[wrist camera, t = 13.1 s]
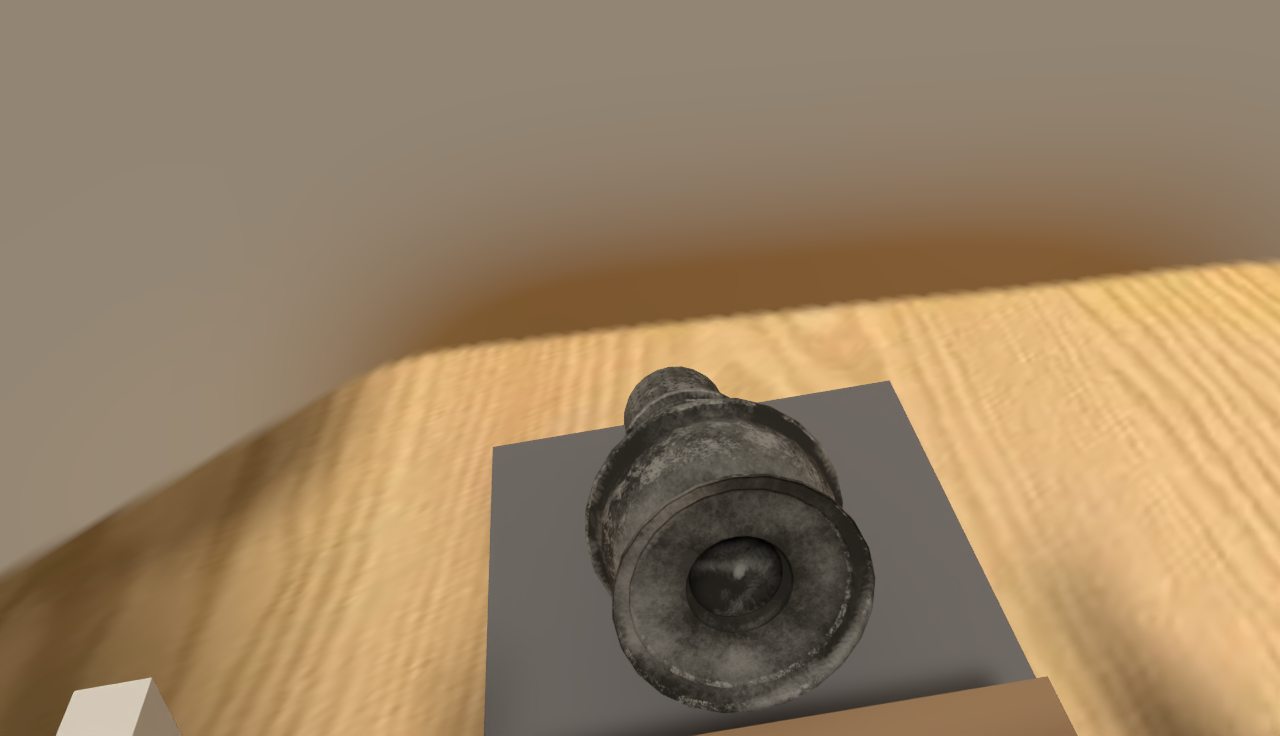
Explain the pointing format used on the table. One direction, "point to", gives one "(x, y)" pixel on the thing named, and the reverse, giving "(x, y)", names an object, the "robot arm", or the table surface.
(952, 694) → the ledge block
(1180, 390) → the table surface
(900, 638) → the mat
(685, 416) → the salt shaker
